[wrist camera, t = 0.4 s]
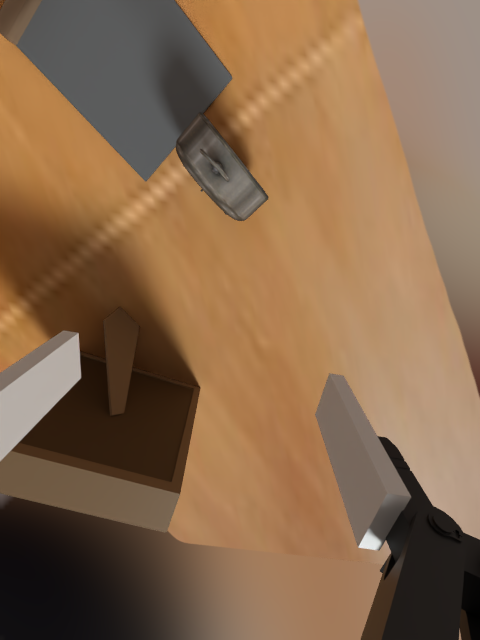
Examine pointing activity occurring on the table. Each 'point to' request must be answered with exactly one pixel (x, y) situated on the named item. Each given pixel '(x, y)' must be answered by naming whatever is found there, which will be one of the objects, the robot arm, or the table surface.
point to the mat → (127, 70)
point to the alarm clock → (219, 169)
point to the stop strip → (16, 18)
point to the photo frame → (109, 439)
